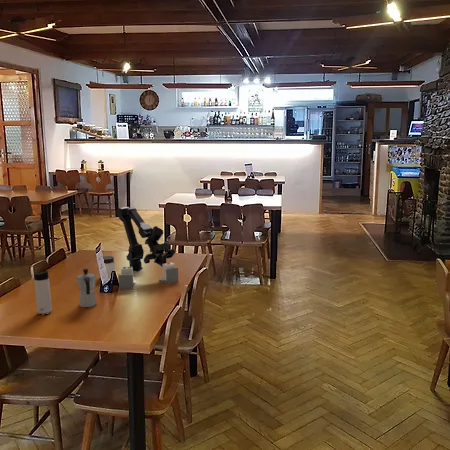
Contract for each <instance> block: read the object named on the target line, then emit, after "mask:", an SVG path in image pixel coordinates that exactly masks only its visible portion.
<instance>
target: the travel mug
mask: <svg viewBox="0 0 450 450" xmlns="http://www.w3.org/2000/svg"><path fill="white" fill-rule="evenodd" d="M33 278H34V279H33V280H34V282H33V283H34V292H35V302H36V310H37V312H36V313H37V315H38V314H47V313H50V312H51V311H53V309H52V300H51V299H52V298H51V289H50V287H51V286H50V279H49V271H47V270H44V271H39V272H36V273H33ZM51 313H52V312H51ZM51 313H50V314H51Z"/></svg>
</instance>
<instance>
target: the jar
mask: <svg viewBox="0 0 450 450" xmlns="http://www.w3.org/2000/svg"><path fill="white" fill-rule="evenodd" d="M102 257H103V259H104V263H105V267H106V271H107V274H108V277H110V275H111V272H112V271H116V269H115V258H114V256H113V255H103V256H102Z"/></svg>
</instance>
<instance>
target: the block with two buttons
mask: <svg viewBox="0 0 450 450" xmlns="http://www.w3.org/2000/svg"><path fill="white" fill-rule="evenodd" d="M120 271H121V272H120V275H121V274H133V275H134V271H133V267H130V266H122V267H121V269H120Z"/></svg>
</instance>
